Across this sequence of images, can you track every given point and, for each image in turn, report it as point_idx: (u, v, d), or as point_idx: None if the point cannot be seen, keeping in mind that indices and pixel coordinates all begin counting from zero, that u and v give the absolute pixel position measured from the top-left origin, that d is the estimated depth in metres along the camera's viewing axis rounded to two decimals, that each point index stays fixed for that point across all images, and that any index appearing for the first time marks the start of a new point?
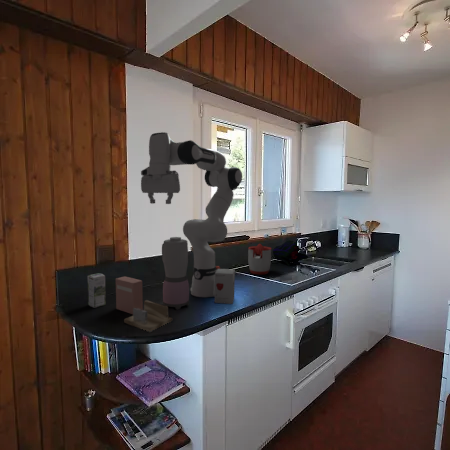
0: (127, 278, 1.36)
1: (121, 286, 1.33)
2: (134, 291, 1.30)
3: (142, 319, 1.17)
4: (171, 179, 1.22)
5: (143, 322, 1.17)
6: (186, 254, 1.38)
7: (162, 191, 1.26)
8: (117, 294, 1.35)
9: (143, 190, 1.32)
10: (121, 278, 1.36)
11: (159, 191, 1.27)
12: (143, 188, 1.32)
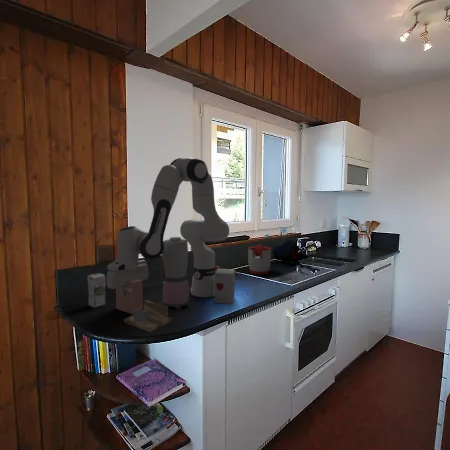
0: None
1: None
2: (134, 291, 1.30)
3: (142, 319, 1.17)
4: (146, 268, 1.40)
5: (143, 322, 1.17)
6: (186, 254, 1.38)
7: None
8: (117, 294, 1.35)
9: (115, 286, 1.26)
10: None
11: None
12: (115, 284, 1.26)
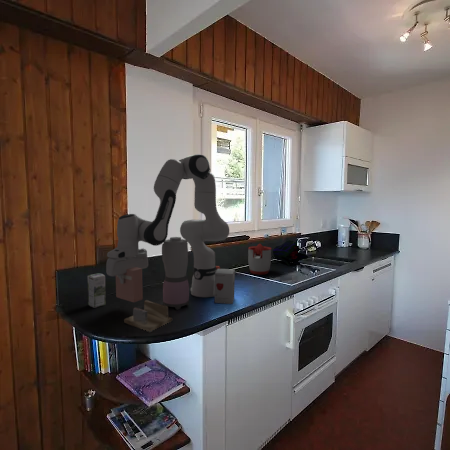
0: None
1: None
2: (134, 279, 1.29)
3: (142, 319, 1.17)
4: (146, 256, 1.39)
5: (143, 322, 1.17)
6: (186, 254, 1.38)
7: None
8: (117, 282, 1.35)
9: (114, 273, 1.26)
10: None
11: None
12: (114, 271, 1.26)
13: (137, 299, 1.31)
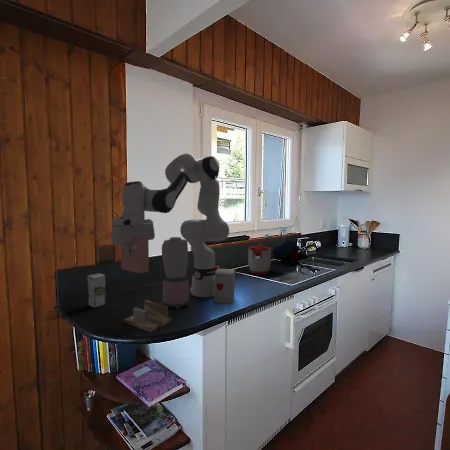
0: None
1: None
2: (140, 248, 1.23)
3: (142, 319, 1.17)
4: (152, 227, 1.33)
5: (143, 322, 1.17)
6: (186, 254, 1.38)
7: None
8: (122, 253, 1.29)
9: (119, 242, 1.20)
10: None
11: None
12: (120, 239, 1.20)
13: (143, 270, 1.25)
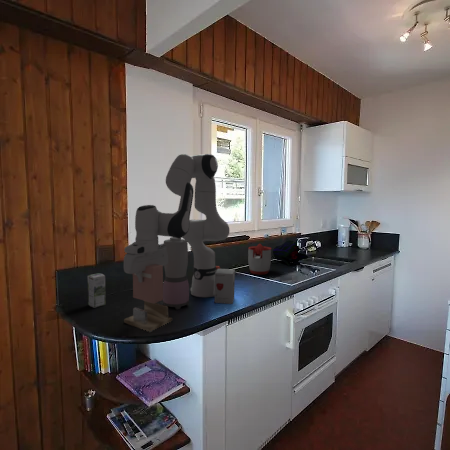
0: None
1: None
2: (154, 277, 1.16)
3: (142, 319, 1.17)
4: (166, 252, 1.26)
5: (143, 322, 1.17)
6: (186, 254, 1.38)
7: None
8: (134, 281, 1.22)
9: (133, 271, 1.12)
10: None
11: None
12: (133, 268, 1.12)
13: (157, 300, 1.18)
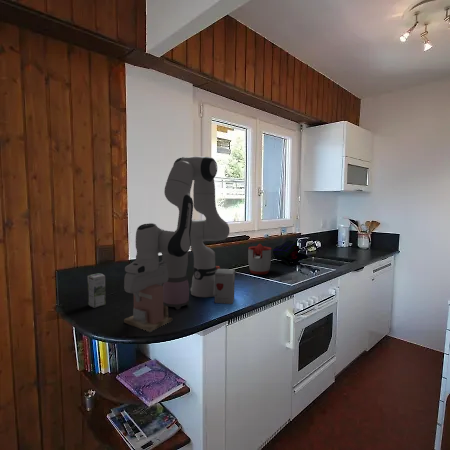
0: None
1: (140, 292, 1.20)
2: (155, 298, 1.17)
3: (142, 319, 1.17)
4: (166, 270, 1.27)
5: (143, 322, 1.17)
6: (186, 254, 1.38)
7: None
8: (135, 301, 1.23)
9: (133, 290, 1.13)
10: None
11: None
12: (133, 288, 1.13)
13: (158, 320, 1.19)
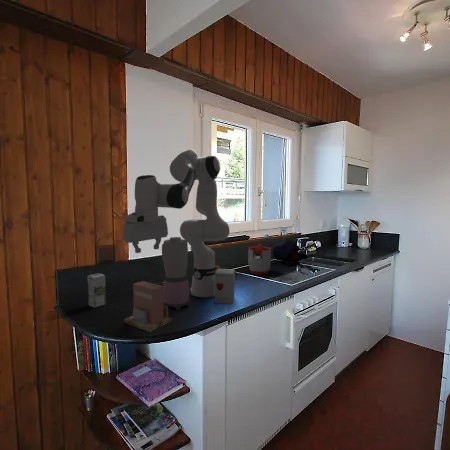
0: (146, 283, 1.23)
1: (140, 292, 1.20)
2: (155, 298, 1.17)
3: (142, 319, 1.17)
4: (165, 224, 1.25)
5: (143, 322, 1.17)
6: (186, 254, 1.38)
7: (156, 237, 1.21)
8: (135, 301, 1.23)
9: (132, 239, 1.12)
10: (139, 283, 1.23)
11: (152, 237, 1.20)
12: (133, 237, 1.12)
13: (158, 320, 1.19)
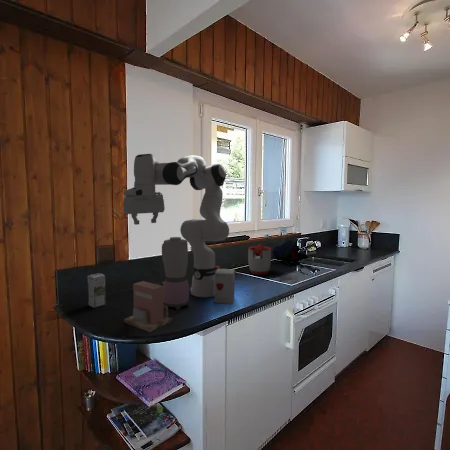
0: (146, 283, 1.23)
1: (140, 292, 1.20)
2: (155, 298, 1.17)
3: (142, 319, 1.17)
4: (162, 200, 1.36)
5: (143, 322, 1.17)
6: (186, 254, 1.38)
7: (153, 211, 1.32)
8: (135, 301, 1.23)
9: (132, 211, 1.22)
10: (139, 283, 1.23)
11: (150, 211, 1.31)
12: (132, 209, 1.22)
13: (158, 320, 1.19)
